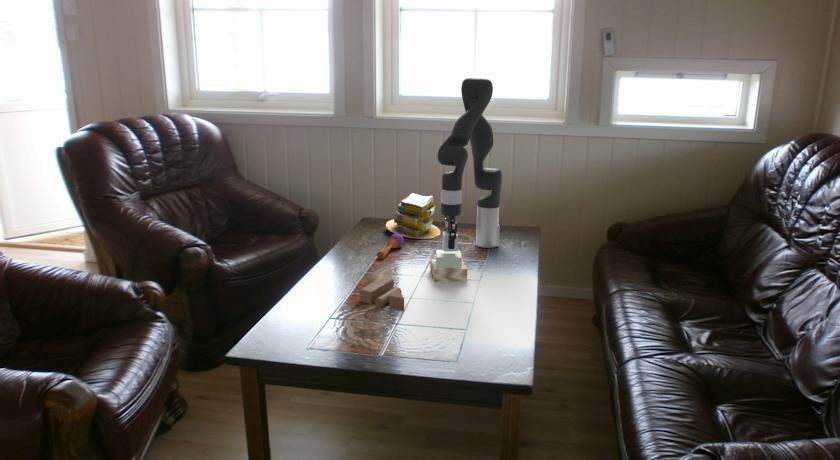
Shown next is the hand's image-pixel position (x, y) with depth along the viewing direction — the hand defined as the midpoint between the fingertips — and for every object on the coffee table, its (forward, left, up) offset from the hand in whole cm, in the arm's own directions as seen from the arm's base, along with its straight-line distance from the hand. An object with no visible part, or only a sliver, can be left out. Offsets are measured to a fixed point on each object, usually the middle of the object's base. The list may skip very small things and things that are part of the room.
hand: (450, 246), depth 241 cm
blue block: (0, 0, -1) cm, 1 cm away
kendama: (+20, -30, -12) cm, 38 cm away
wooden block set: (+22, +21, -12) cm, 33 cm away
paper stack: (+7, -59, -12) cm, 60 cm away
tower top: (0, 0, -7) cm, 7 cm away
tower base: (0, 0, -12) cm, 12 cm away
